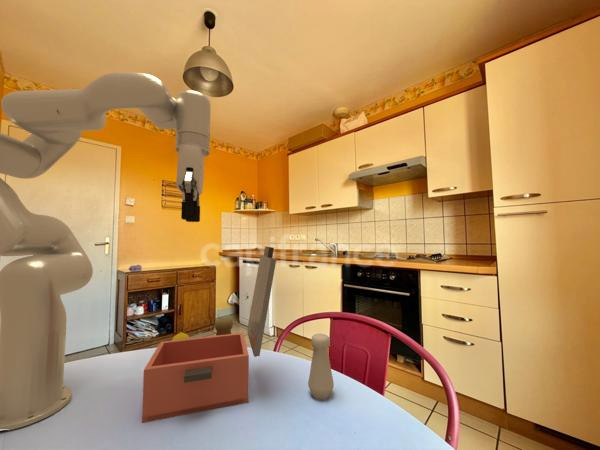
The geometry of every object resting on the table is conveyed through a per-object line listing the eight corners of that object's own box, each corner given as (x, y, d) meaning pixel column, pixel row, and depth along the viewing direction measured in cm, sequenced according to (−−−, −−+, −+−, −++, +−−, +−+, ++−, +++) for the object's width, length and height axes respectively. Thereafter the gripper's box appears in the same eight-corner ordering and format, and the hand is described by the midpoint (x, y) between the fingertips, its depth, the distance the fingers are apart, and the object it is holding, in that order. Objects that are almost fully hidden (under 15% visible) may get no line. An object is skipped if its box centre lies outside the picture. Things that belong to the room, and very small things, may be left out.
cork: (236, 352, 78) (237, 316, 78) (229, 361, 72) (229, 322, 72) (218, 351, 78) (218, 315, 79) (209, 360, 72) (209, 321, 73)
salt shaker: (315, 383, 60) (315, 329, 61) (337, 391, 57) (337, 333, 58) (303, 397, 55) (303, 337, 56) (327, 405, 52) (326, 342, 53)
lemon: (164, 364, 70) (165, 334, 71) (178, 355, 76) (179, 328, 76) (181, 366, 69) (182, 336, 69) (194, 357, 74) (195, 329, 75)
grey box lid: (273, 247, 56) (278, 248, 56) (262, 245, 71) (266, 246, 72) (253, 358, 53) (259, 359, 54) (246, 332, 69) (250, 332, 69)
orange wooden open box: (137, 432, 45) (139, 376, 46) (161, 377, 63) (162, 338, 64) (249, 409, 51) (249, 360, 52) (242, 365, 69) (242, 329, 70)
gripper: (181, 156, 67) (179, 222, 66) (168, 128, 50) (165, 217, 49) (211, 158, 69) (209, 223, 68) (207, 133, 53) (205, 218, 52)
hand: (191, 220), depth 59 cm, fingers open, 6 cm apart
